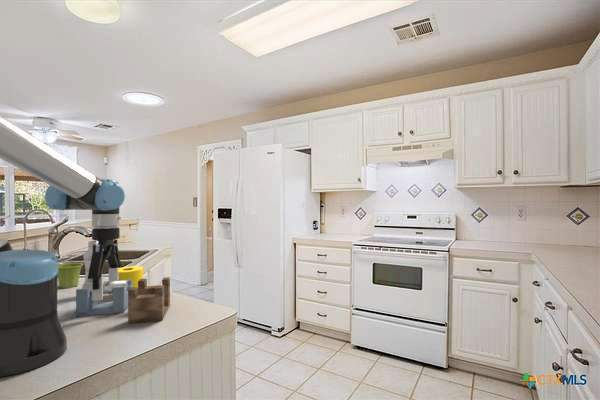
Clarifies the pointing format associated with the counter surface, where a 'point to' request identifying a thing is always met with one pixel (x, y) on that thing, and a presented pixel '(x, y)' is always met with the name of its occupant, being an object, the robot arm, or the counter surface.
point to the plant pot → (69, 274)
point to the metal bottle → (89, 259)
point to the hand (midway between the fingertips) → (105, 293)
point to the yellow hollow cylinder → (131, 274)
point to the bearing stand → (148, 301)
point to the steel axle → (107, 286)
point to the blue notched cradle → (93, 307)
